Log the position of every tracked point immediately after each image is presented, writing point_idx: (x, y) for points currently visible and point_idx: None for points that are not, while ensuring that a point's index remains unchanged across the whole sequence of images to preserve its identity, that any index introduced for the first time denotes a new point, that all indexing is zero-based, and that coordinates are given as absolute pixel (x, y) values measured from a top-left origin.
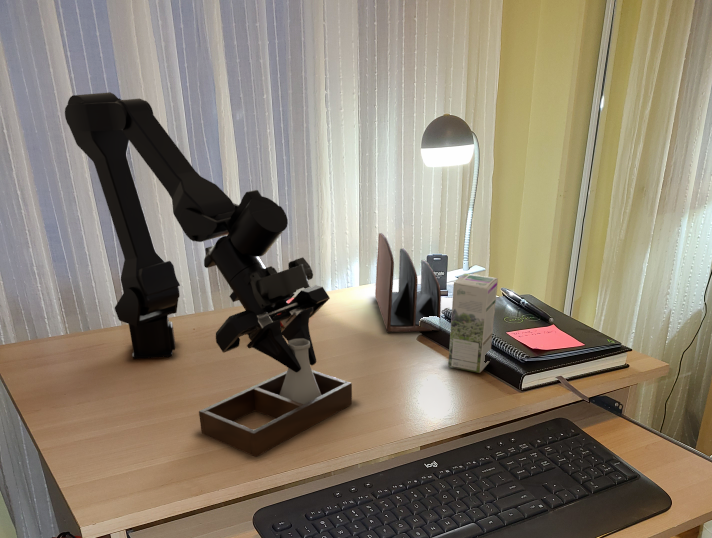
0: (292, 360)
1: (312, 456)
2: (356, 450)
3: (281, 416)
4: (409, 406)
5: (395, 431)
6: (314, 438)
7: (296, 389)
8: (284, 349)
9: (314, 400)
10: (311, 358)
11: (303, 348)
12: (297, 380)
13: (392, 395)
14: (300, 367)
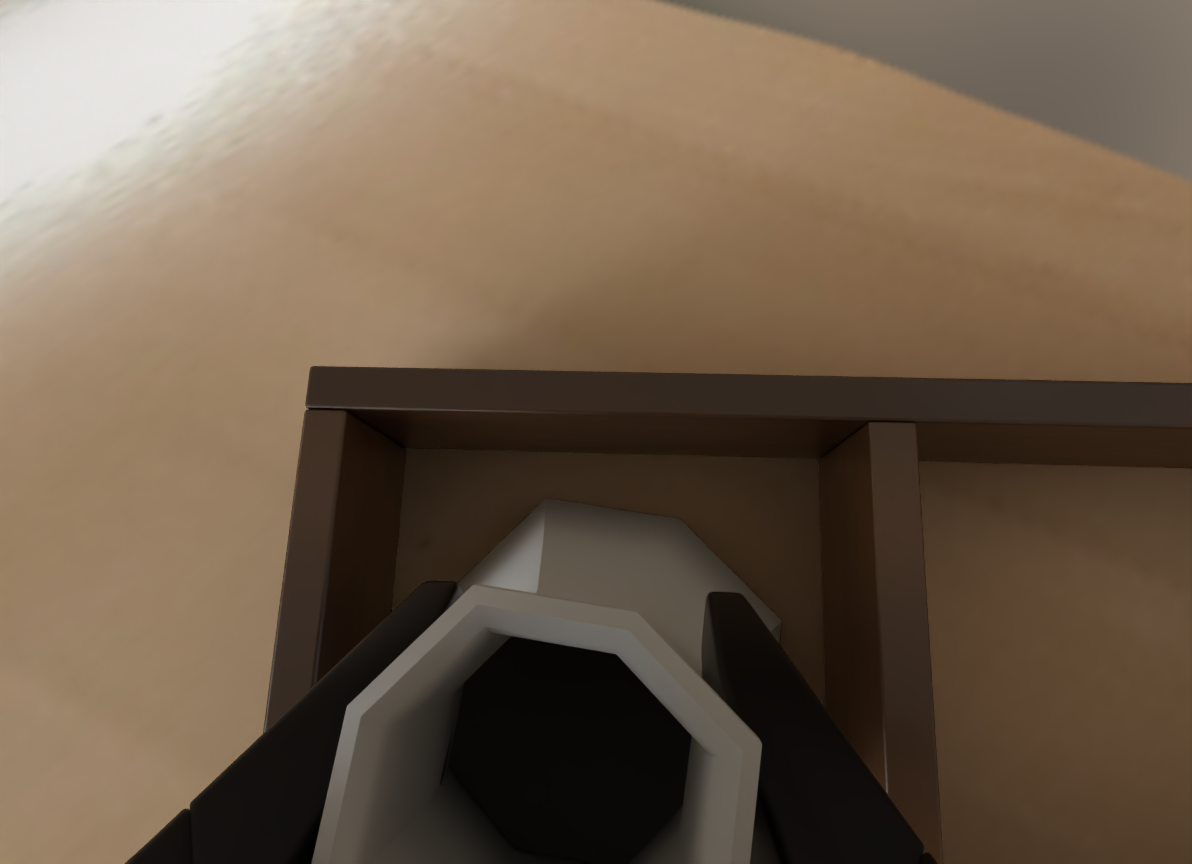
0: (809, 687)
1: (1060, 190)
2: (838, 59)
3: (1157, 417)
4: (214, 136)
5: (528, 30)
6: (892, 314)
7: None
8: (935, 860)
9: (757, 396)
10: None
11: (636, 611)
12: None
13: (126, 293)
14: (724, 593)
